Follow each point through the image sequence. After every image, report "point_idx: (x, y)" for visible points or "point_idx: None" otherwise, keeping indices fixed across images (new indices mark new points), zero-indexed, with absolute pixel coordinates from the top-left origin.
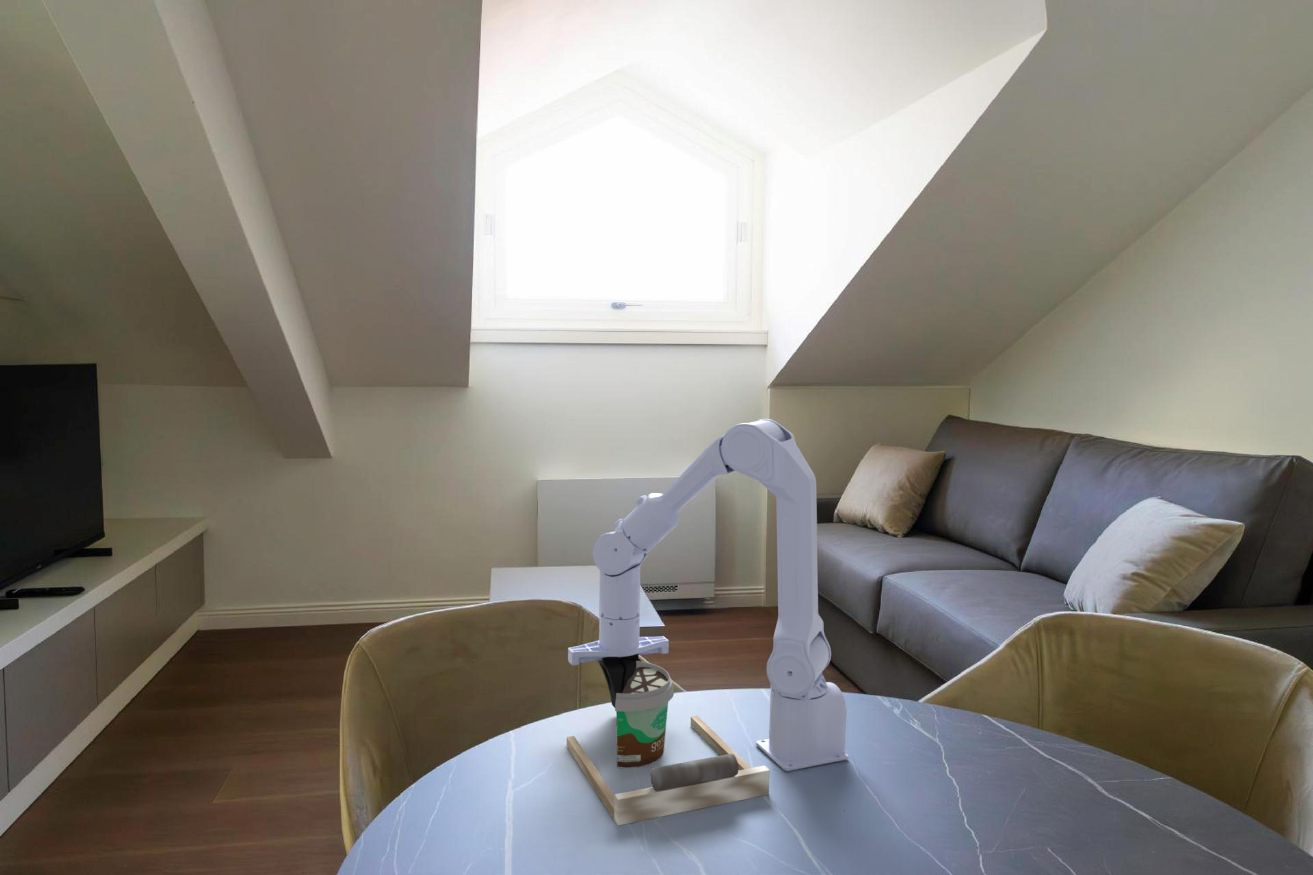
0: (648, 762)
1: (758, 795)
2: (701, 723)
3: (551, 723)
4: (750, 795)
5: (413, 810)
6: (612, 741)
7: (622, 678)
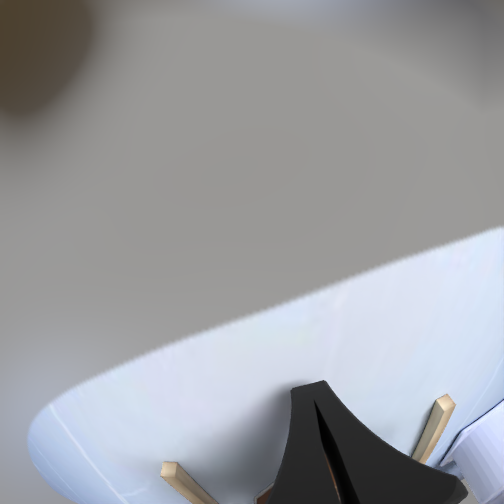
0: None
1: None
2: (441, 427)
3: (103, 388)
4: None
5: (50, 476)
6: (259, 462)
7: (342, 499)
